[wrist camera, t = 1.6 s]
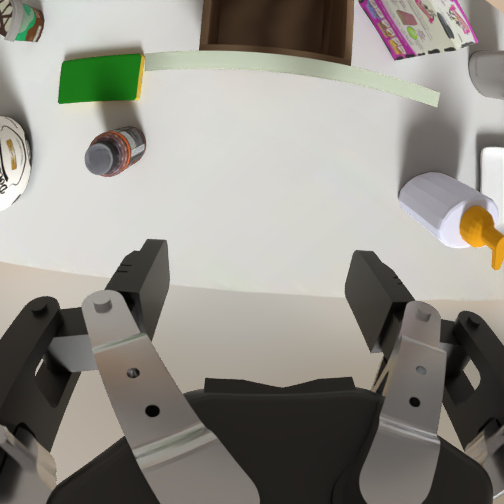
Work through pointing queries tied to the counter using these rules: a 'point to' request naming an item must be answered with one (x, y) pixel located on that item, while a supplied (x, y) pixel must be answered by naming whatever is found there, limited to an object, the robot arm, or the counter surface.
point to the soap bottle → (454, 213)
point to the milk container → (13, 161)
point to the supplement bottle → (115, 151)
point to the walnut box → (280, 28)
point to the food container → (20, 21)
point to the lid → (289, 69)
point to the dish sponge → (101, 78)
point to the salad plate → (493, 180)
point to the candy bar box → (420, 26)
